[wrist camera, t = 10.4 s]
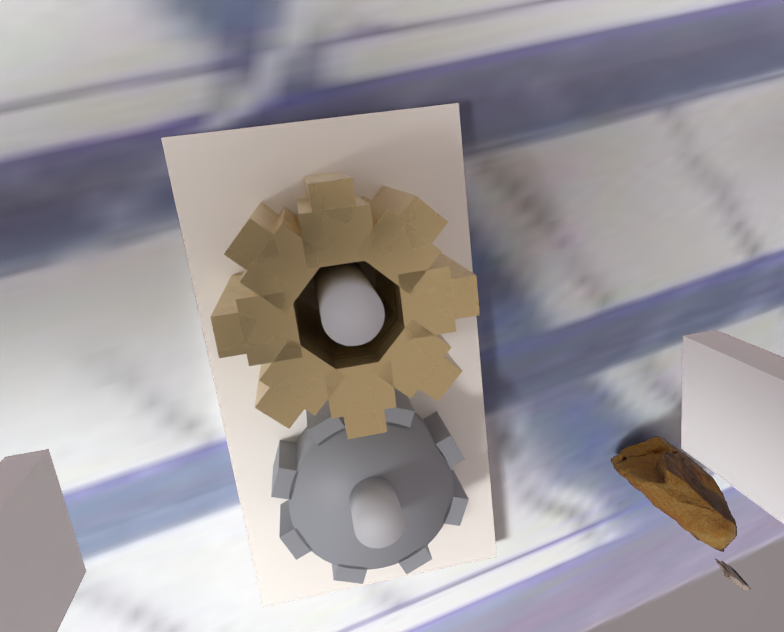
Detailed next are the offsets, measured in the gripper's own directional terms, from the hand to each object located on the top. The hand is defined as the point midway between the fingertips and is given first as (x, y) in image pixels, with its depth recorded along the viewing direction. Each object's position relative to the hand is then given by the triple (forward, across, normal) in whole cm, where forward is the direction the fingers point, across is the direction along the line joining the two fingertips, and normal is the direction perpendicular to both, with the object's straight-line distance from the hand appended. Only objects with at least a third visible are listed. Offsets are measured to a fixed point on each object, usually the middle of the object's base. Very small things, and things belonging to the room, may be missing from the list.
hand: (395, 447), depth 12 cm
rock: (+20, +18, -15) cm, 31 cm away
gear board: (+20, 0, -6) cm, 21 cm away
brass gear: (+19, 0, 0) cm, 19 cm away
